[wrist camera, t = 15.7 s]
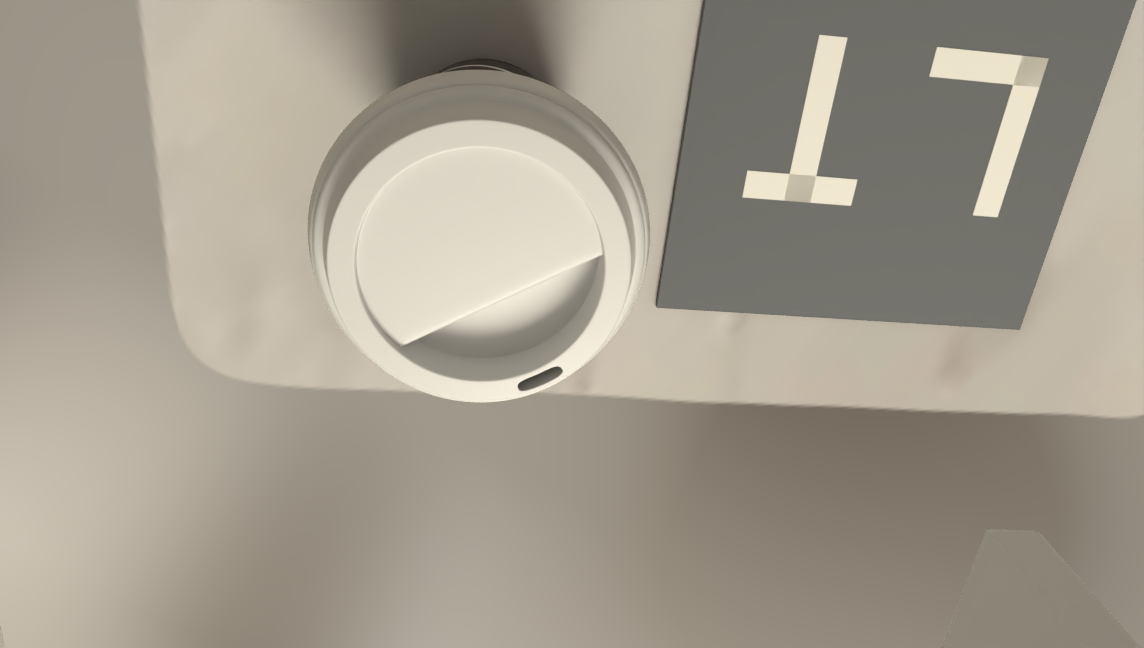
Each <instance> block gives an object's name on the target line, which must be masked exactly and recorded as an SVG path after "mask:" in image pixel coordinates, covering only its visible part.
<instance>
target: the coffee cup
mask: <svg viewBox="0 0 1144 648" xmlns="http://www.w3.org/2000/svg"><path fill="white" fill-rule="evenodd" d="M308 243H309V251H310V257H311V262H312V267H313V271H314V275H315V279H316V282H317V285H318V288H319V290H320V293H321V295H322V298H323V300H324V302H325V304H326V306H327V308H328V310H329V311H330V313H331V315H332V316H333V318H334V320H335V321H336V323H337V324H338V325H339V327H340V328H341V330H342V331H343V332H344V333H345V335H346V336H347V337H348V338H349V339H350V341H351V342H352V343H353V344H354V345H355V346H356V347H357V348H358V349H359V350H360V351H361V352H362V353H363V354H364V355H365V356H366V357H368V358H369V359H370V360H371V361H372V362H374V363H375V364H376V365H378V366H379V367H380V368H382V369H383V370H384V371H386V372H387V373H388V374H390V375H391V376H393V377H394V378H396V379H398V380H399V381H401V382H403V383H405V384H407V385H409V386H411V387H413V388H415V389H417V390H420V391H422V392H425V393H428V394H431V395H434V396H438V397H442V398H446V399H451V400H457V401H466V402H496V401H505V400H511V399H515V398H520V397H524V396H527V395H530V394H533V393H536V392H539V391H541V390H544V389H546V388H548V387H550V386H552V385H554V384H556V383H558V382H560V381H562V380H563V379H565V378H566V377H568V376H569V375H571V374H572V373H574V372H575V371H576V370H578V369H579V368H581V367H582V366H583V365H585V364H586V363H587V362H589V361H590V360H591V359H592V358H593V357H594V356H596V355H597V354H598V353H599V352H600V351H601V350H602V349H603V348H604V347H605V346H606V344H607V343H608V342H609V341H610V340H611V339H612V337H613V336H614V335H615V334H616V332H617V331H618V330H619V328H620V327H621V326H622V324H623V323H624V321H625V319H626V318H627V316H628V314H629V313H630V311H631V309H632V307H633V305H634V303H635V301H636V298H637V296H638V293H639V291H640V288H641V285H642V281H643V278H644V274H645V270H646V266H647V261H648V254H649V245H650V221H649V212H648V206H647V201H646V197H645V193H644V189H643V186H642V183H641V180H640V178H639V175H638V173H637V170H636V168H635V166H634V164H633V162H632V160H631V158H630V157H629V155H628V153H627V151H626V150H625V148H624V147H623V145H622V144H621V142H620V141H619V140H618V138H617V137H616V136H615V134H614V133H613V132H612V131H611V130H610V129H609V127H608V126H607V125H606V124H605V123H604V122H603V121H602V120H601V119H600V118H599V117H598V116H597V115H595V114H594V113H593V112H592V111H591V110H590V109H588V108H587V107H586V106H584V105H583V104H582V103H580V102H579V101H577V100H576V99H575V98H573V97H571V96H570V95H568V94H566V93H565V92H563V91H561V90H559V89H557V88H555V87H553V86H551V85H548V84H546V83H544V82H541V81H538V80H535V79H534V78H533V77H532V76H530V75H529V74H528V73H526V72H525V71H523V70H521V69H520V68H518V67H515V66H513V65H511V64H508V63H505V62H501V61H497V60H489V59H475V60H468V61H463V62H459V63H456V64H454V65H451V66H449V67H447V68H445V69H443V70H442V71H440V72H439V73H437V74H435V75H431V76H427V77H424V78H421V79H418V80H415V81H412V82H410V83H407V84H405V85H403V86H401V87H398V88H396V89H395V90H393V91H391V92H389V93H387V94H386V95H384V96H382V97H381V98H379V99H378V100H376V101H375V102H373V103H372V104H371V105H369V106H368V107H367V108H366V109H364V110H363V111H362V112H361V113H360V114H359V115H358V116H357V117H356V118H355V119H353V121H352V122H351V123H350V124H349V125H348V126H347V127H346V128H345V129H344V130H343V132H342V133H341V134H340V136H339V137H338V138H337V140H336V141H335V142H334V144H333V146H332V147H331V149H330V150H329V152H328V154H327V156H326V157H325V159H324V161H323V163H322V166H321V168H320V170H319V173H318V175H317V178H316V181H315V184H314V188H313V191H312V195H311V200H310V206H309V214H308Z"/></svg>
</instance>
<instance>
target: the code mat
mask: <svg viewBox="0 0 1144 648" xmlns="http://www.w3.org/2000/svg"><path fill="white" fill-rule="evenodd" d="M1135 3H1136V0H704V3H703V9H702V16H701V22H700V28H699V35H698V41H697V47H696V54H695V60H694V66H693V73H692V79H691V85H690V92H689V98H688V104H687V111H686V117H685V123H684V130H683V136H682V142H681V149H680V155H679V161H678V168H677V174H676V180H675V187H674V193H673V199H672V206H671V212H670V218H669V225H668V231H667V238H666V244H665V250H664V257H663V263H662V269H661V276H660V282H659V288H658V295H657V301H656V306H657V308H671V309H688V310H704V311H720V312H737V313H753V314H770V315H786V316H802V317H819V318H835V319H852V320H868V321H884V322H901V323H917V324H934V325H950V326H966V327H983V328H999V329H1016V330H1020V327H1021V324H1022V321H1023V319H1024V316H1025V313H1026V310H1027V307H1028V304H1029V302H1030V299H1031V296H1032V293H1033V290H1034V288H1035V285H1036V282H1037V279H1038V276H1039V273H1040V271H1041V268H1042V265H1043V262H1044V259H1045V257H1046V254H1047V251H1048V248H1049V245H1050V242H1051V240H1052V237H1053V234H1054V231H1055V228H1056V226H1057V223H1058V220H1059V217H1060V214H1061V211H1062V209H1063V206H1064V203H1065V200H1066V197H1067V195H1068V192H1069V189H1070V186H1071V183H1072V180H1073V178H1074V175H1075V172H1076V169H1077V166H1078V164H1079V161H1080V158H1081V155H1082V152H1083V149H1084V147H1085V144H1086V141H1087V138H1088V135H1089V133H1090V130H1091V127H1092V124H1093V121H1094V118H1095V116H1096V113H1097V110H1098V107H1099V104H1100V102H1101V99H1102V96H1103V93H1104V90H1105V87H1106V85H1107V82H1108V79H1109V76H1110V73H1111V71H1112V68H1113V65H1114V62H1115V59H1116V56H1117V54H1118V51H1119V48H1120V45H1121V42H1122V40H1123V37H1124V34H1125V31H1126V28H1127V25H1128V23H1129V20H1130V17H1131V14H1132V11H1133V9H1134V6H1135Z"/></svg>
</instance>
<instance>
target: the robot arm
mask: <svg viewBox="0 0 1144 648" xmlns="http://www.w3.org/2000/svg"><path fill="white" fill-rule="evenodd" d="M0 648H5V644H4V640H3V635H2V631H1V627H0ZM942 648H1141V647H1140V646H1139V645H1138V644H1137V642H1136V641H1135V640H1134V639H1133V638H1132V637H1131V636H1130V635H1129V633H1128V632H1127V631H1126V630H1125V629H1124V628H1123V627H1122V626H1121V624H1120V623H1119V622H1118V621H1117V620H1116V619H1115V618H1114V616H1113V615H1112V614H1111V613H1110V612H1109V611H1108V610H1107V609H1106V607H1104V605H1103V604H1102V603H1101V602H1100V601H1099V600H1098V599H1097V597H1096V596H1095V595H1094V594H1093V593H1092V592H1091V591H1090V589H1089V588H1088V587H1087V586H1086V585H1085V584H1084V583H1083V581H1082V580H1081V579H1080V578H1079V577H1078V576H1077V575H1076V574H1075V572H1074V571H1073V570H1072V569H1071V568H1070V567H1069V566H1068V565H1067V563H1066V562H1065V561H1064V560H1063V559H1062V558H1061V557H1060V555H1059V554H1058V553H1057V552H1056V551H1055V550H1054V549H1053V548H1052V547H1051V545H1050V544H1049V543H1048V542H1047V541H1046V540H1045V539H1044V537H1043V536H1042V535H1041V534H1040V533H1039V532H1038V531H1018V530H989V529H988V530H986V533H985V535H984V538H983V541H982V543H981V546H980V549H979V552H978V554H977V557H976V559H975V562H974V564H973V567H972V569H971V573H970V575H969V577H968V580H967V582H966V585H965V588H964V591H963V593H962V596H961V598H960V601H959V603H958V606H957V609H956V611H955V614H954V616H953V619H952V622H951V624H950V627H949V630H948V632H947V635H946V637H945V640H944V642H943V645H942Z"/></svg>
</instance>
